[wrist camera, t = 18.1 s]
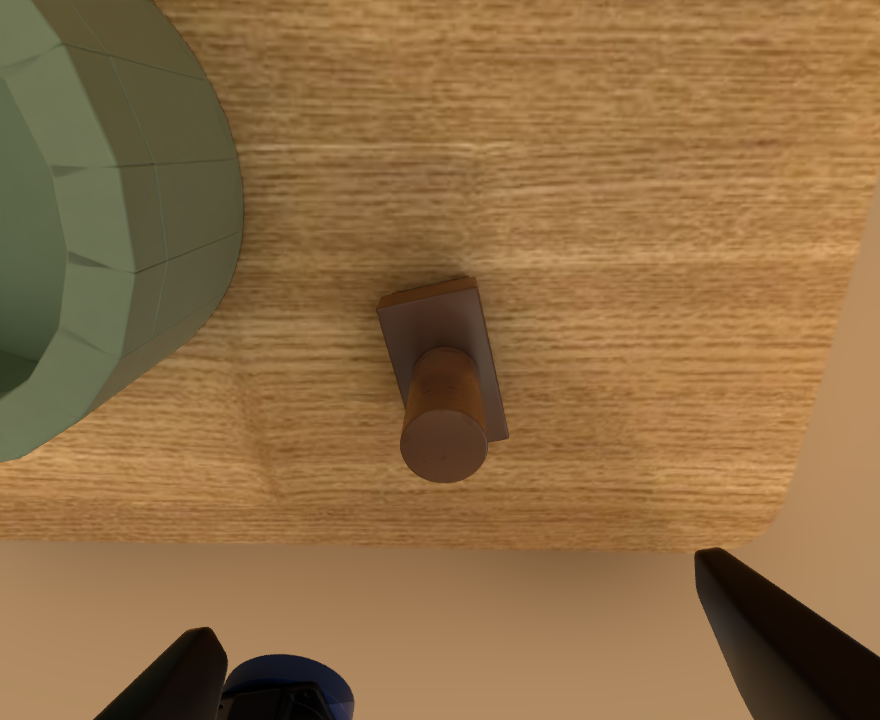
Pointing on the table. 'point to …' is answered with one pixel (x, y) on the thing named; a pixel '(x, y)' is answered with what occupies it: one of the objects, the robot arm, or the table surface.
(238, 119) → the table surface
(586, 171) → the table surface
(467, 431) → the stamp
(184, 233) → the bowl
